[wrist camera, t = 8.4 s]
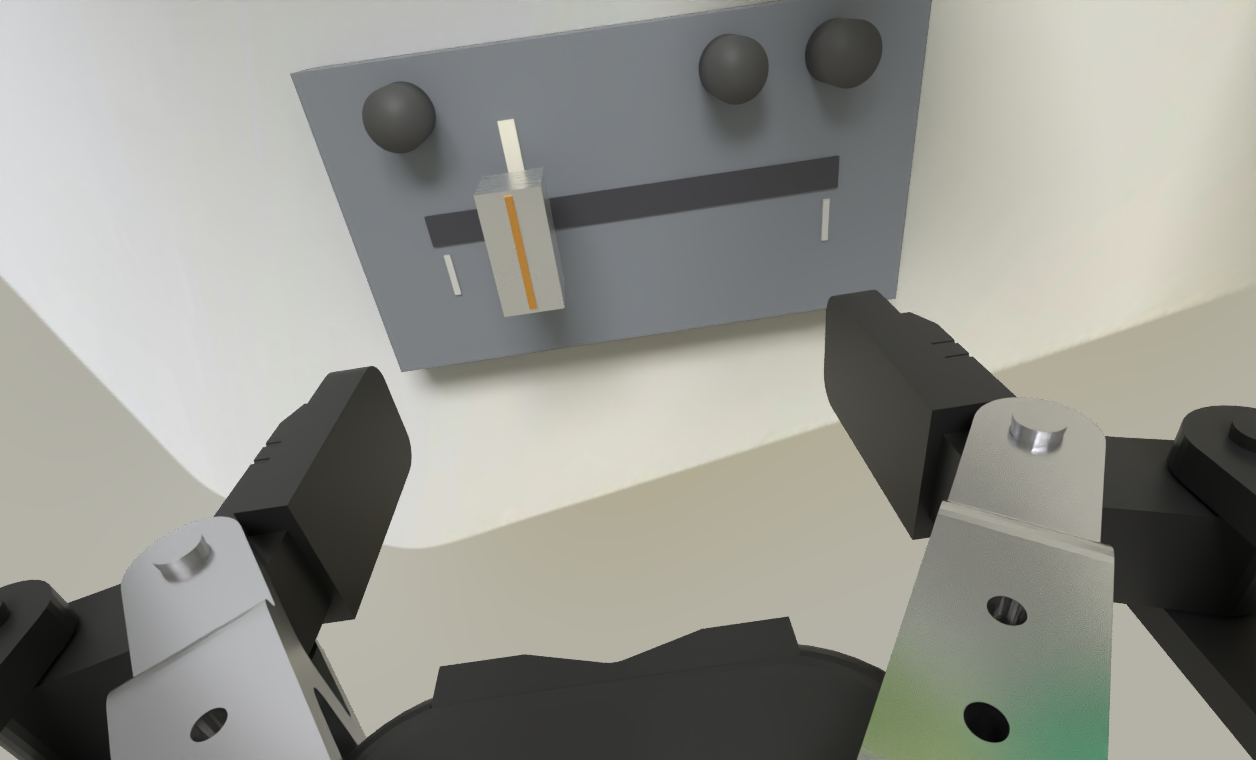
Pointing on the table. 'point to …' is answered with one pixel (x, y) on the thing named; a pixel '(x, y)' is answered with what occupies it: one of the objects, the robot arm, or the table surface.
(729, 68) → the console
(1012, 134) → the table surface
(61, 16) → the table surface
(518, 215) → the fader
